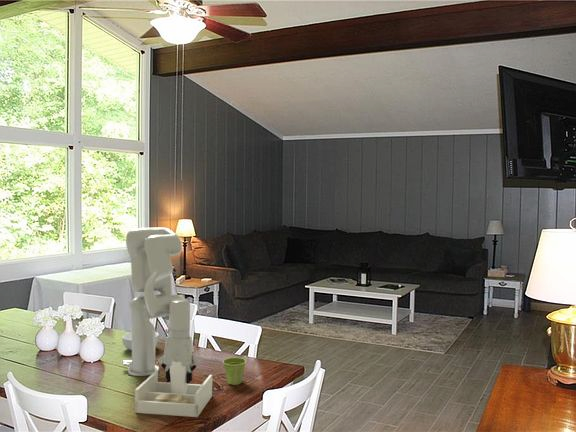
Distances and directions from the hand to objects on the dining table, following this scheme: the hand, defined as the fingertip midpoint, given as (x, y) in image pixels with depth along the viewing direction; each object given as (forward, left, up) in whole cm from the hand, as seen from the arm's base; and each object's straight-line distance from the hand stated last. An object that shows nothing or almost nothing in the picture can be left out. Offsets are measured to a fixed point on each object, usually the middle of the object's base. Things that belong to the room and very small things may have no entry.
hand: (179, 381), depth 199 cm
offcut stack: (0, -9, -7) cm, 11 cm away
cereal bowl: (-37, +56, -7) cm, 67 cm away
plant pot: (+16, +21, -7) cm, 27 cm away
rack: (0, -4, -7) cm, 8 cm away
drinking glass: (0, 0, -7) cm, 7 cm away
